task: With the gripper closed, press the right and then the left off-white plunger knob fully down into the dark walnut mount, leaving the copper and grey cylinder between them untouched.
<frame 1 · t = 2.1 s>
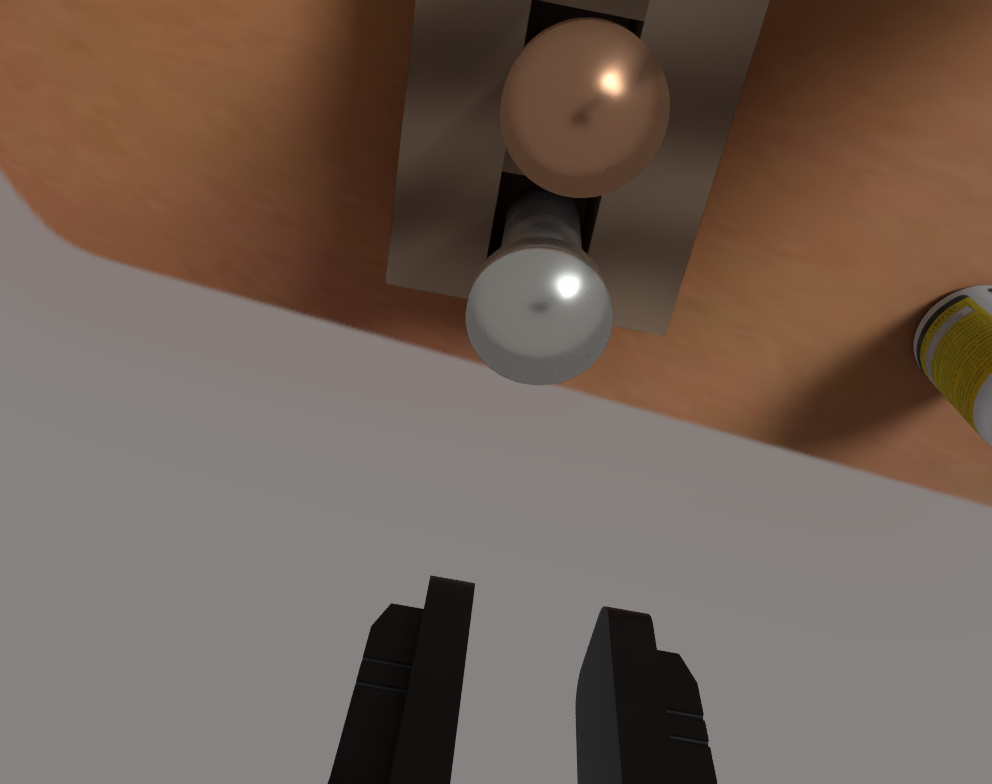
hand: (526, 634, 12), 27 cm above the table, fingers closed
copper and grey cylinder: (578, 85, 24), point 10 cm above the table, slide at 0.0 cm
supplement bottle: (966, 331, 38), on the table
mount: (572, 53, 33), on the table
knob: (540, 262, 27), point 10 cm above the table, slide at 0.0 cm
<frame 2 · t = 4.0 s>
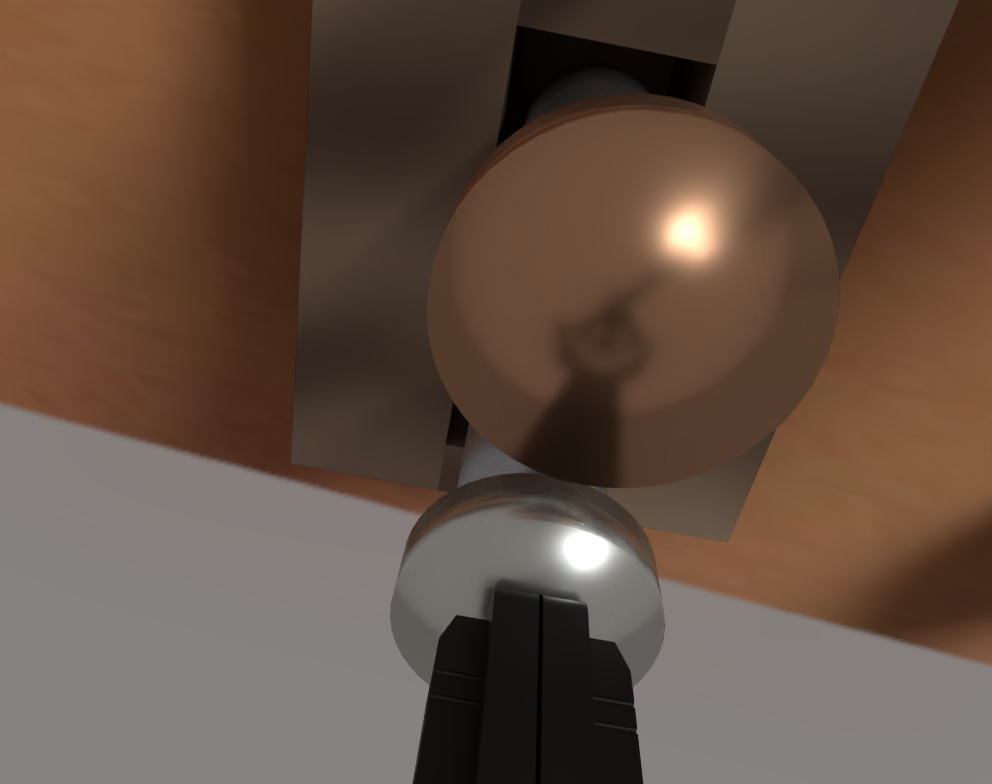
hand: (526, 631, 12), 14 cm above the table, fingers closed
copper and grey cylinder: (602, 196, 13), point 10 cm above the table, slide at 0.0 cm
mount: (584, 101, 21), on the table
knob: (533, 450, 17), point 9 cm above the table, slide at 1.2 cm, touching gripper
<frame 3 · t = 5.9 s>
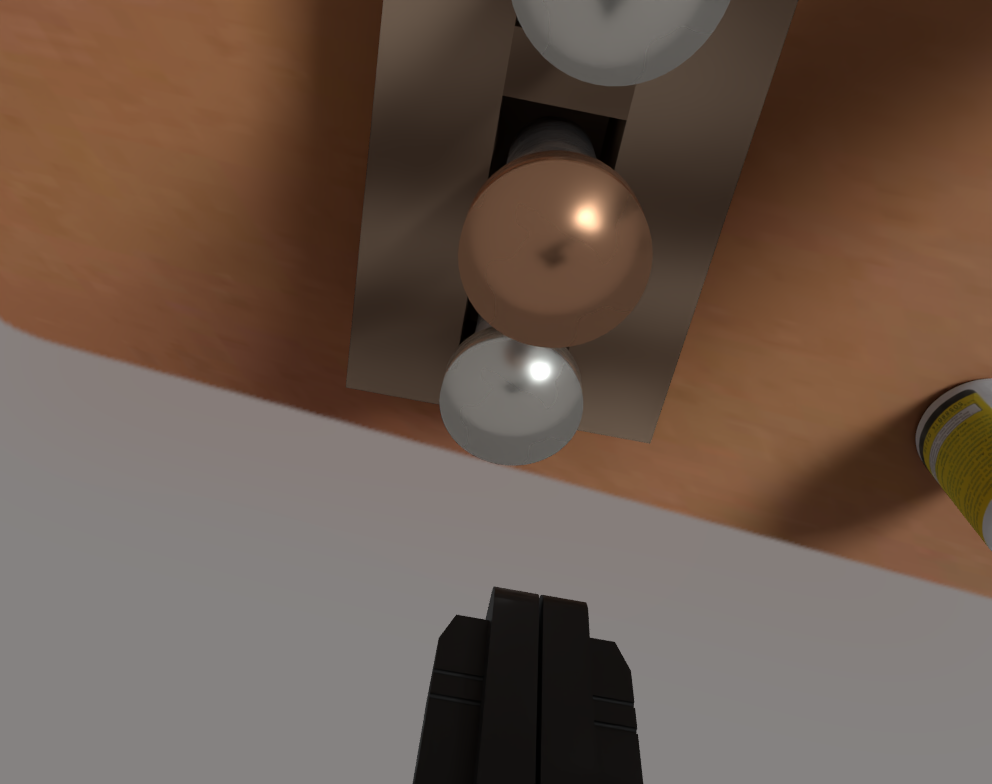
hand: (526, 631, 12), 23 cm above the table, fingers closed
copper and grey cylinder: (552, 201, 22), point 10 cm above the table, slide at 0.0 cm
supplement bottle: (971, 424, 36), on the table
mount: (550, 136, 30), on the table
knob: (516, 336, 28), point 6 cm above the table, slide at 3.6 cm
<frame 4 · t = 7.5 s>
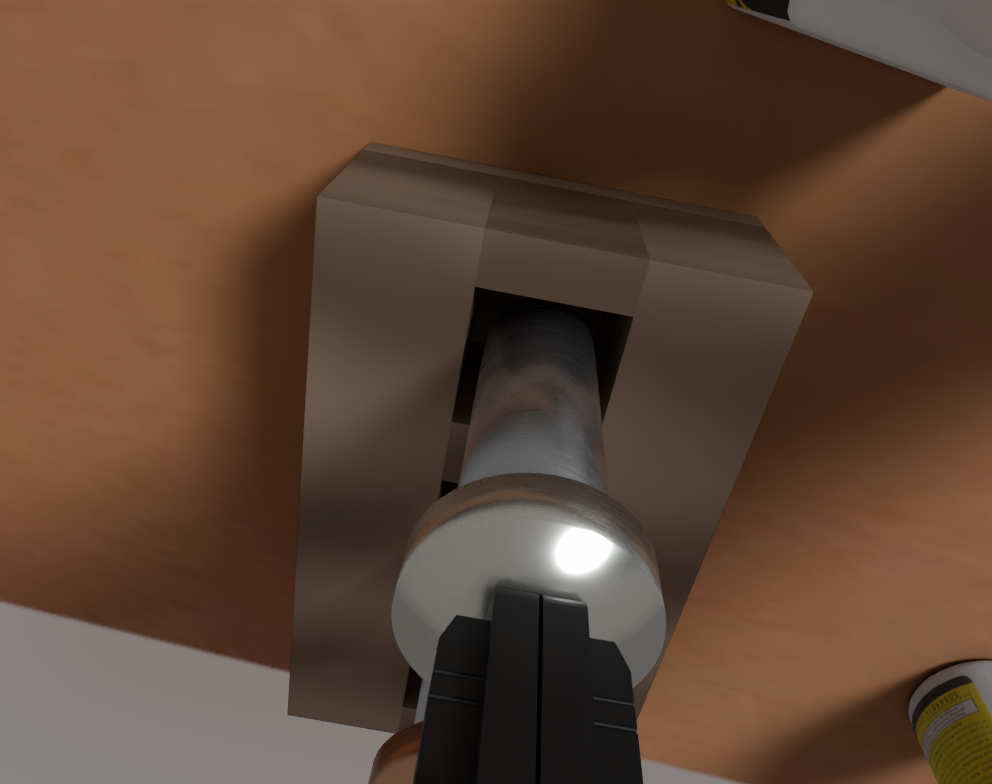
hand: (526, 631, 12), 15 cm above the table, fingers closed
copper and grey cylinder: (488, 641, 20), point 10 cm above the table, slide at 0.0 cm
supplement bottle: (968, 694, 33), on the table
mount: (509, 436, 28), on the table
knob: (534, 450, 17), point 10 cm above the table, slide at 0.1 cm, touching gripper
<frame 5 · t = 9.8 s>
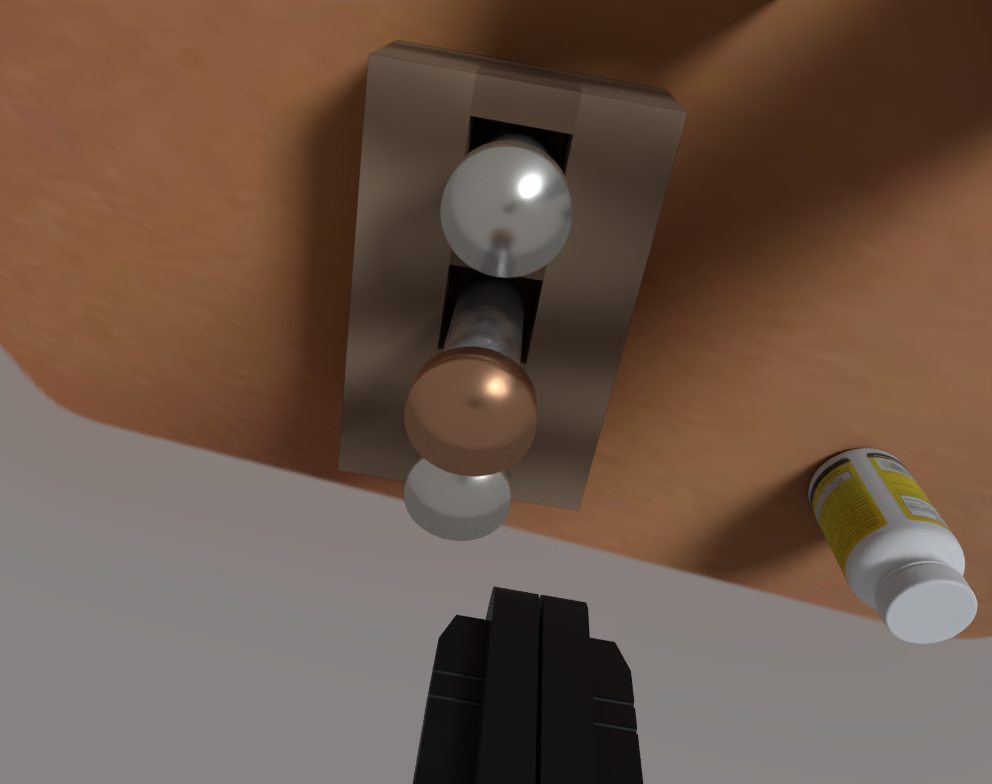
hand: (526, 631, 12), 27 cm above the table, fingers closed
copper and grey cylinder: (482, 353, 30), point 10 cm above the table, slide at 0.0 cm
supplement bottle: (854, 483, 43), on the table
mount: (497, 267, 38), on the table
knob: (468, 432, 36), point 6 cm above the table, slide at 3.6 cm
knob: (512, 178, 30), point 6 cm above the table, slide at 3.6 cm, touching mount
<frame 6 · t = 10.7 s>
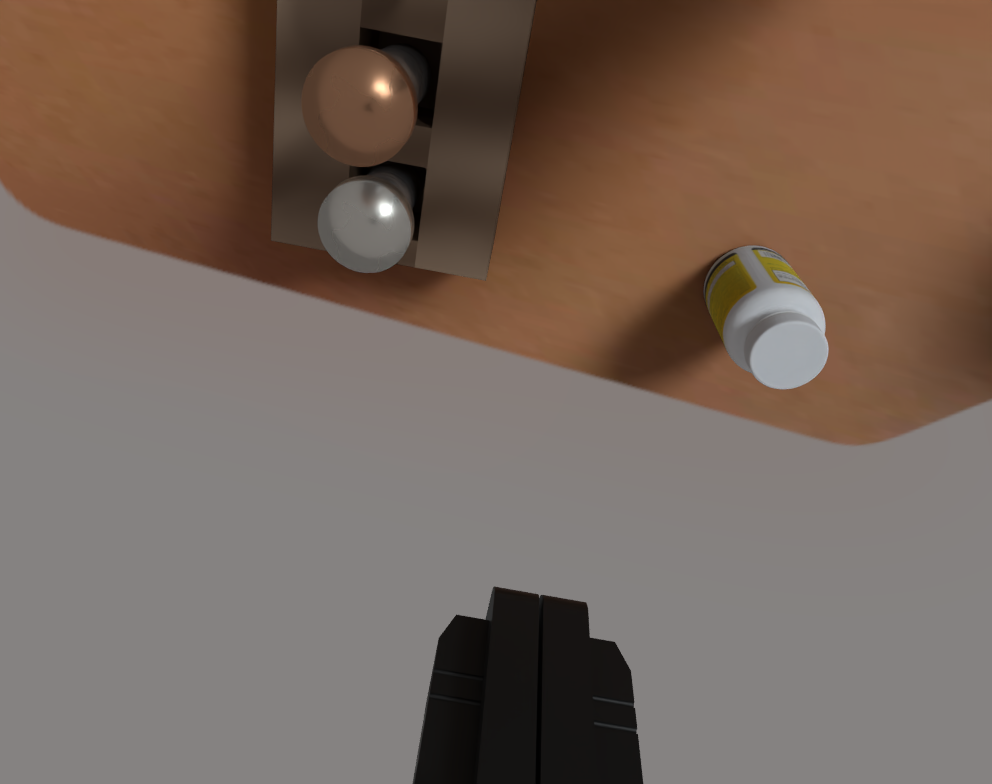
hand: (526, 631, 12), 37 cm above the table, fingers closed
copper and grey cylinder: (382, 90, 34), point 10 cm above the table, slide at 0.0 cm
supplement bottle: (745, 283, 48), on the table
mount: (416, 64, 43), on the table
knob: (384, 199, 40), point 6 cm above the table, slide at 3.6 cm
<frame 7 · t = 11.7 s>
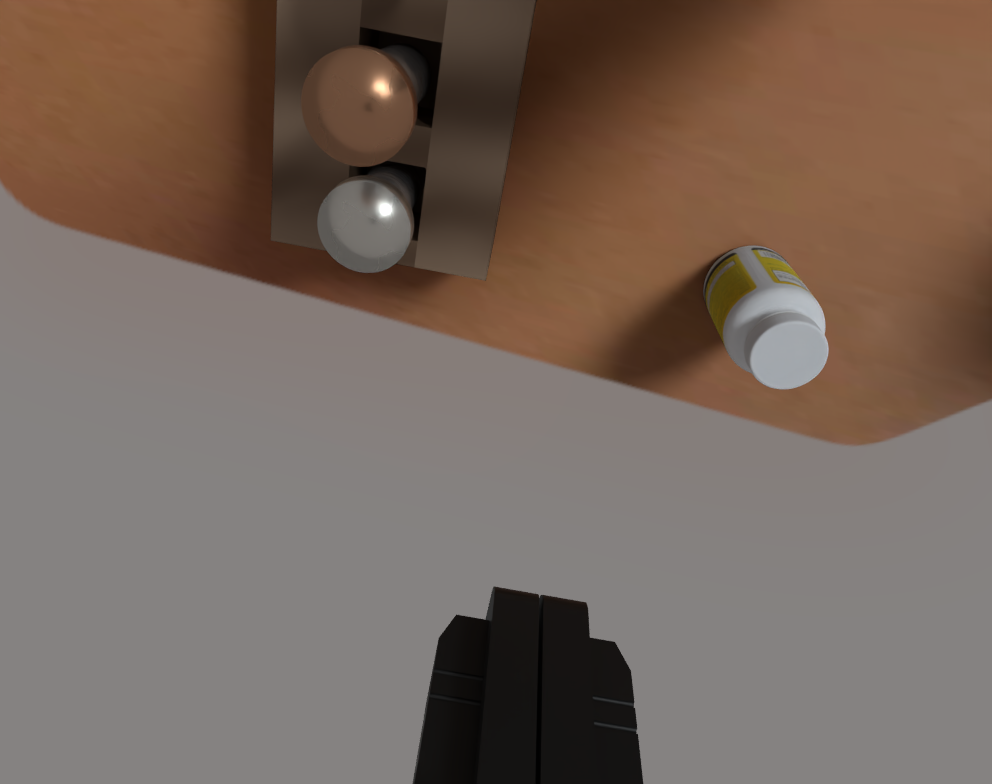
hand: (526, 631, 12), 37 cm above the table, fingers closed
copper and grey cylinder: (382, 90, 34), point 10 cm above the table, slide at 0.0 cm
supplement bottle: (745, 284, 48), on the table
mount: (415, 64, 43), on the table
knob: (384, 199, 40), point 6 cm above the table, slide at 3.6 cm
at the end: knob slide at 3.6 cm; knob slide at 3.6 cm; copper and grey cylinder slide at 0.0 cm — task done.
